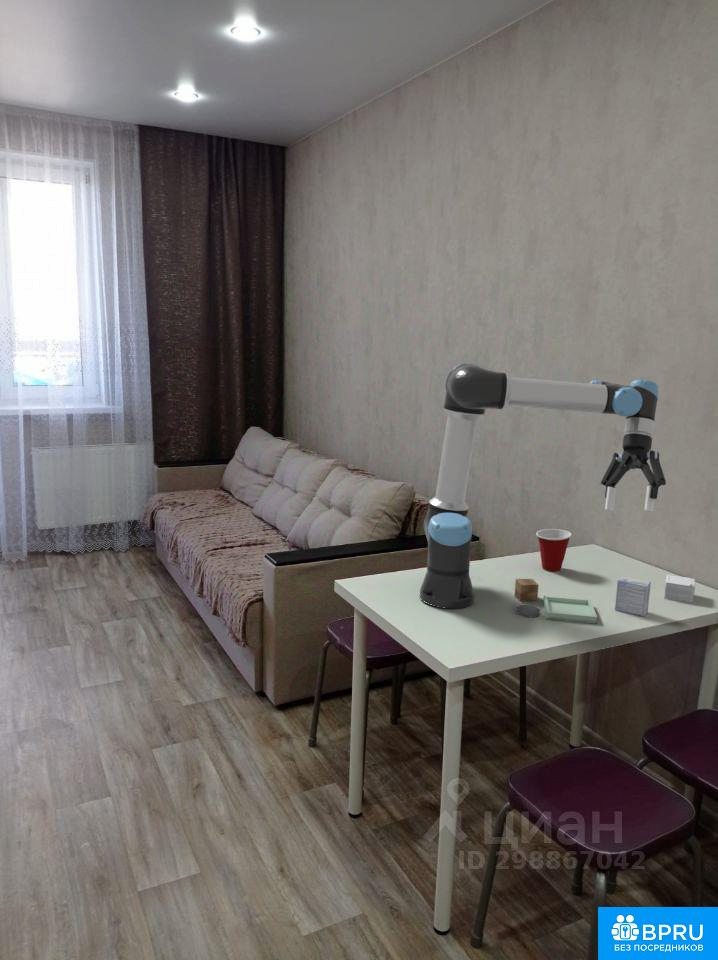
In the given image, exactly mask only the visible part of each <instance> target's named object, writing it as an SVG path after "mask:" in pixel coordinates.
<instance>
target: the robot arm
mask: <svg viewBox="0 0 718 960" xmlns="http://www.w3.org/2000/svg"><path fill="white" fill-rule="evenodd" d="M444 384H445V391H446V392H445V398H444V404H443V410H444V412H445V413H446V415H447V421H446V426H445V432H444V439H443V445H442V451H441V457H440V464H439V471H438V477H437V483H436V490H435V496H434V497H432V498H431V499H429V501H428V507H427V514H426V515H425V518H424V521H423V530H424V535H425V537H426V540H427V562H426V563H427V567H426V573H425V575H424V578H423V581H422V584H421V586H420V588H419V599H420V598H421V599H422V600H423V601H425V602H427V603H429V604H432V605H435V606H439V607H445V608H444V609H447V608H456V609H463V608H467V607H469V606H472V605H473V604H474V602H475V590H474V587H473V583H472V580H471V577H470V567H471V565H470V564H471V550H472V549H471V545H472V537H473V536H472V535H473V525H472V522H471V520H470V519H469V518H468V516H469V515H468V514H469V509H470V508H469V507H470V506H469V505H468V503H466V495H467V494H466V493H467V488H468V483H469V476H470V471H471V465H472V464H471V463H472V458H473V453H474V446H475V440H476V434H477V428H478V422H479V420H480V419H481V418H482V417H484V416H485V413H486V410H488V409H489V410H490V409H491V410H492V409H493V410H504V409H505V408H507V407H517V408H519V407H520V408H528V409H529V408H530V409H531V408H532V409H543V410H558V411H571V412H581V413H583V412H586V413H595V414H597V413H598V414H608V415H617V416H620V417H625V425H624V432H623V433H624V435H623V439H622V449H623V452H622V453H617V452H613V454H612V460H611V462H610V464H609V466H608V468H607V469H606V471H605V473H604V474H603V477H602V479H601V481H600V484H601V486H602V485H603V486H605V492H604V498H605V505H604V510H606V511H610V512H613V511H614V510H615V503H616V496H617V488H616V486H617V484H618V483H619V482H620V481H621V479H622V478H623V477H624V476H625V475H626V473H627V472H630V470H635V469H638V470H641V472H642V473H643V475H644V477H645V478H646V480H647V482H648V485H647V486H646V494H645V500H644V501H645V502H644V511H646V512H647V511H648V512H649V513H650V512H651V513H653V512H654V511H655V503H656V502H655V501H656V500H657V498H658V494H659V493H658V492H659V489H660V487H662V486H665V485H666V484H667V482H666V477H665V474H664V472H663V468H662V465H661V462H660V453H659V451H655V450H652V442H653V438H652V436H653V434H654V426H655V419H656V412H657V404H658V399H659V385H658V384H657V383H656V382H654V381H652V380H648V379H636V380H633V381H632V382H631V383H630V385H623V384H619V383H614V382H610V381H609V382H608V381H604V380H595V379H593V380H591V381H589V383H586V382H575V381H562V380H561V381H560V380H549V379H538V378H525V377H524V378H523V377H511V376H510V375H509V374H508V373H507V372H500V371H493V370H489V369H486V368H483V367H481V366H479V365H478V364H475V363H474V364H473V363H462V364H461V363H460V364H459V365H457V366H455V367H454V368H453V369H451V370H450V372H449V373H448V375H447V377H446V379H445V383H444ZM648 460H649V463H650V464H649V463H648ZM614 512H615V511H614ZM421 599H420V600H421ZM439 607H438V608H439Z"/></svg>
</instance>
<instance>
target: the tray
mask: <svg viewBox="0 0 718 960" xmlns="http://www.w3.org/2000/svg"><path fill="white" fill-rule="evenodd" d="M542 599H543V601H542V602H543V607H544V611H545V617H546V620H553V621H565V622H577V623H585V624H586V623H587V622H588V623H587V624H597V622H598V615H597V613H596V611H595V607H594V606H593V603H592V600H591V599H588V598H587V599H586V598H576V597H565V596H564V597H563V596H562V597H561V596H554V595H553V596H551V595H543V598H542Z"/></svg>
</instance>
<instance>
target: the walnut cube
mask: <svg viewBox="0 0 718 960" xmlns="http://www.w3.org/2000/svg"><path fill="white" fill-rule="evenodd" d="M538 594H539V583H538V582H536V580H534V579H533V578H515V583H514V597H515V598H516V599H517V600H518V602H519V603H522V602H523V603H526V602H529V603H530V602H531V603H533V602H535V603H536V602H538V597H539V595H538ZM525 601H526V602H525Z"/></svg>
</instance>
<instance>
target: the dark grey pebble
mask: <svg viewBox="0 0 718 960" xmlns="http://www.w3.org/2000/svg"><path fill="white" fill-rule="evenodd" d="M516 614H517V615H518V616H522V617H524V618H536V617H538V616H540V608H539V607H538V606H535V605H531V604H519V605H517V606H516Z"/></svg>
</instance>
